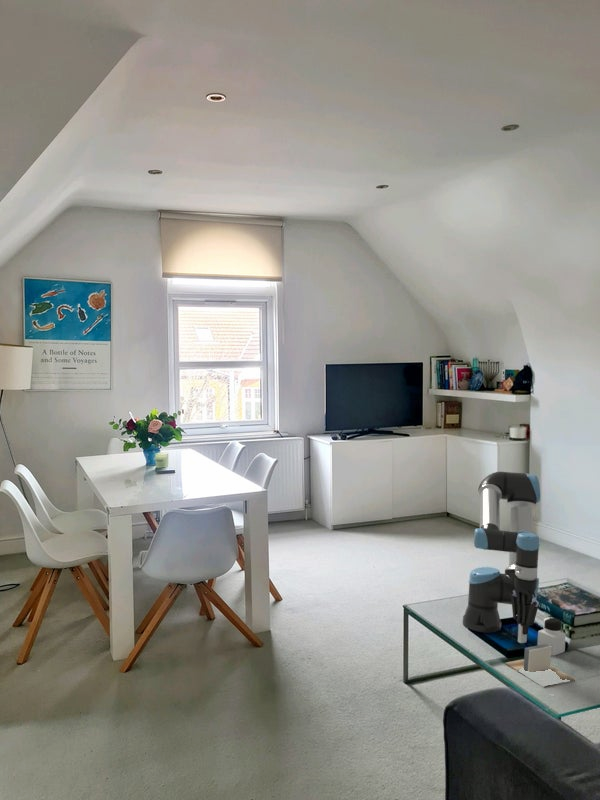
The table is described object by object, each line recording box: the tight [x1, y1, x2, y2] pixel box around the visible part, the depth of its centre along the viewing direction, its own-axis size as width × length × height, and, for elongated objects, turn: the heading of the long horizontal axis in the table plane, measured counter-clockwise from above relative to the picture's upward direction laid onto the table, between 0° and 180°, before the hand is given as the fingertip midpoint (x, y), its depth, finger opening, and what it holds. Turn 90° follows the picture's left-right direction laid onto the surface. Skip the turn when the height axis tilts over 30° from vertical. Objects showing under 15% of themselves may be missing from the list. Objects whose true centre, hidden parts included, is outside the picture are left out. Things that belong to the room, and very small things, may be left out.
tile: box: [523, 644, 552, 672], centre depth 225 cm, size 2×10×8 cm, turn 115°
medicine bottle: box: [536, 617, 567, 657], centre depth 242 cm, size 7×7×12 cm
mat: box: [504, 658, 576, 682], centre depth 224 cm, size 18×14×1 cm
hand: (522, 641), depth 232 cm, fingers closed
